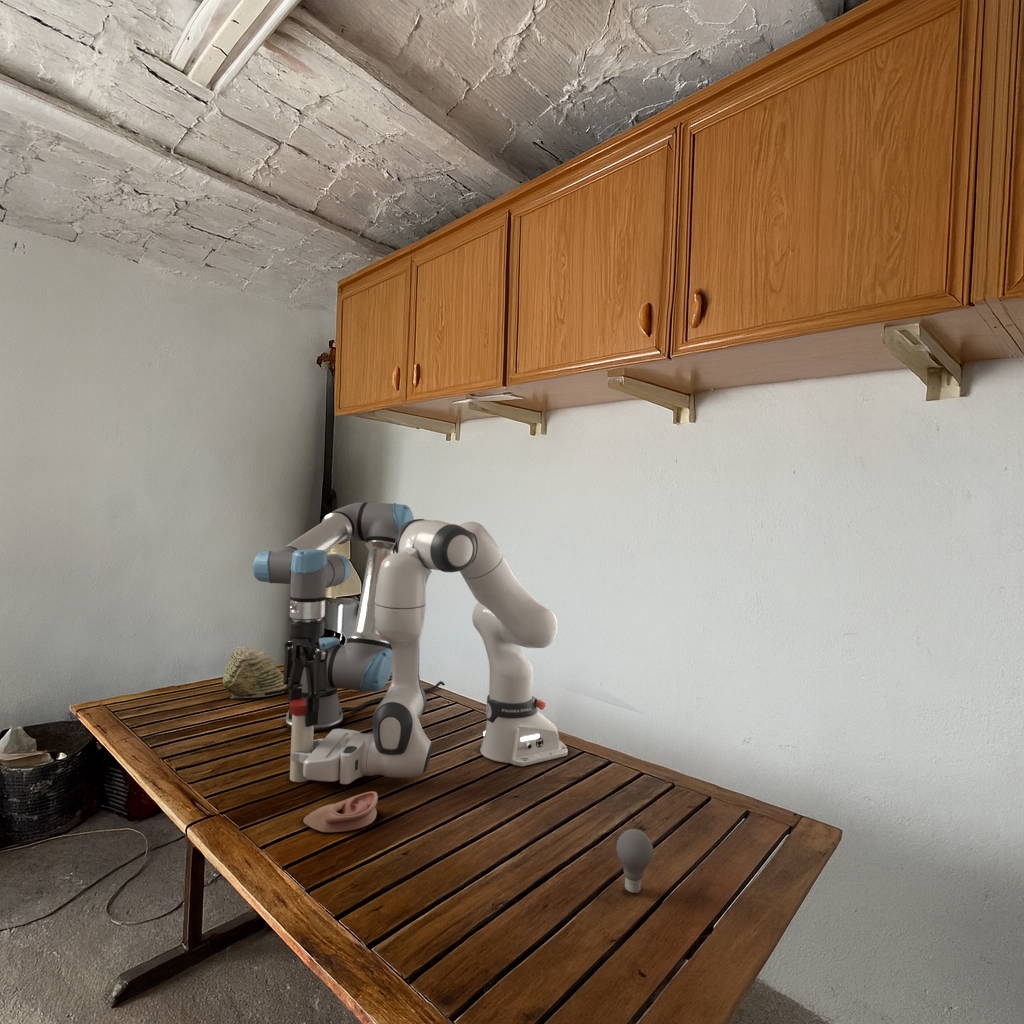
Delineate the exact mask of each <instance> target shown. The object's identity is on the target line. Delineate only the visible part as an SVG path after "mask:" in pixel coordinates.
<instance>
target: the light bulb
mask: <svg viewBox="0 0 1024 1024" xmlns="http://www.w3.org/2000/svg"><path fill="white" fill-rule="evenodd" d="M615 849H616V854H617V857H618V859H619V861H620V863H621V865H622V867H623V873H624V874H623V875H624V876H625V878H624V888H625V890H627V891H628V892H630V893H634V894H635V893H639V892H640V891H641V889H642V887H641V886H642V879H643V877H644V875H645V871H646V868H647V867H648V866H649V864H650V863H651V861H652V859H653V855H654V847H653V843H652V841H651V838H649V836H648V835H647V834H646V833H645V832H643V831H642V830H641V829H636V828H629V829H627V830H625V831H623V832H622V833H621V834H620V835H619V837H618V839H617V841H616V847H615Z"/></svg>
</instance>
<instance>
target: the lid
mask: <svg viewBox="0 0 1024 1024" xmlns="http://www.w3.org/2000/svg"><path fill="white" fill-rule="evenodd" d="M288 710H289V712H290V713H291V714H293V715H300V716H302V715H306V698H298V699H294V700H292V701H291V702H290V707H289V706H288Z"/></svg>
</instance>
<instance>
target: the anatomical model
mask: <svg viewBox="0 0 1024 1024" xmlns="http://www.w3.org/2000/svg"><path fill="white" fill-rule="evenodd" d="M378 801H379V795H378V793H377V791H366V792H363V793H360V794H359V793H358V794H356V795H353V796H351V797H349V798H346V799H344V800H341V801H339V802H336V803H330V804H326V805H323V806H321V807H318V808H317V809H315V810H313V811H311V812H310V813H309V814H307V815H306V816H305V817H304V818H303V820H302V822H303V823H304V824H305V825H306V826H308V827H309V828H311V829H312V830H315V831H318V832H321V833H340V832H348V831H353V830H354V831H355V830H358V829H361V828H364V827H366V826H369V825H371V824H372V823H374V821H375V820H376V818H377V814H378V812H377V808H376V807H377V805H378Z"/></svg>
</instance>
